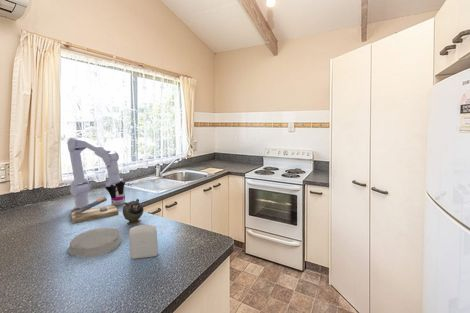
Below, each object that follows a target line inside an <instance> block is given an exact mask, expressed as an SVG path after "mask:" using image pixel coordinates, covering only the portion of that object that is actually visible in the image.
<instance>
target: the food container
mask: <svg viewBox="0 0 470 313" xmlns="http://www.w3.org/2000/svg"><path fill="white" fill-rule="evenodd" d="M120 235H121V233H120V230H119V229H118V228H117V227H116V228H114V227H98V228H93V229H89V230H88V229H87V230H86V231H84V232H81V233H80V234H77V235H76V236H74V237H73V238H72V239H71V240H70V241H69V247H67V251H68V253H69V254H70V255H71V256H73V257H76V258H79V259H86V258H85V257H89V258H95V257H98V255H99V256H101V254H103V255H106V254H107V253H109V252H113V251H114V250H116V249H117V248H118V247H119V246H120V244H121V242H122V240H123V239H122V237H121V236H120ZM83 256H84V257H83ZM94 256H95V257H94Z"/></svg>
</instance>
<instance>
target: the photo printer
mask: <svg viewBox="0 0 470 313" xmlns="http://www.w3.org/2000/svg"><path fill="white" fill-rule="evenodd" d="M128 237H129V239H128V240H129V251H130V259H143V258H145V259H146V258H151V257H156V256H158V255H159V243H158V231H157V227H156V225H152V224H151V225H150V224H141V225H135V226H133V227H131V228H130V229H129V232H128Z"/></svg>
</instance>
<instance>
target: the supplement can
mask: <svg viewBox="0 0 470 313" xmlns="http://www.w3.org/2000/svg"><path fill="white" fill-rule="evenodd" d="M116 183H117V182H116ZM114 186H116V185H115V184H114ZM110 202H111V205H115V206H120V205H124V204H125V203H126V189H125V188H124V190H123V195H119V193H118V190H117V187H116V198H111V197H110ZM124 202H125V203H124Z"/></svg>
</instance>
